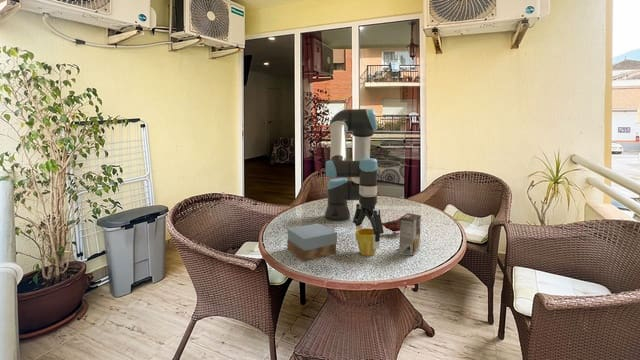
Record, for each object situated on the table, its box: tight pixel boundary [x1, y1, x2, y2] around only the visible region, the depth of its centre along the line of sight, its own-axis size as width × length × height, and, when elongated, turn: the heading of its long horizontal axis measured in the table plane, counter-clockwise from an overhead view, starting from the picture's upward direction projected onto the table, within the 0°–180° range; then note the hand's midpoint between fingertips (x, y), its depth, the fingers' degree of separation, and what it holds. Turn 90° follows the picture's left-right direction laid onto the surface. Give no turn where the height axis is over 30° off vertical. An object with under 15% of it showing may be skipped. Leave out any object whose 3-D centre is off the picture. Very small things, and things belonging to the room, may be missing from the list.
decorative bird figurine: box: [382, 215, 404, 235], centre depth 174 cm, size 3×18×10 cm, turn 80°
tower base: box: [286, 238, 337, 262], centre depth 153 cm, size 16×16×5 cm
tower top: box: [287, 223, 338, 251], centre depth 152 cm, size 16×16×5 cm
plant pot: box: [354, 227, 377, 257], centre depth 150 cm, size 10×10×10 cm
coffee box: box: [398, 212, 422, 256], centre depth 151 cm, size 9×6×16 cm
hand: (367, 243), depth 150 cm, fingers open, 11 cm apart
